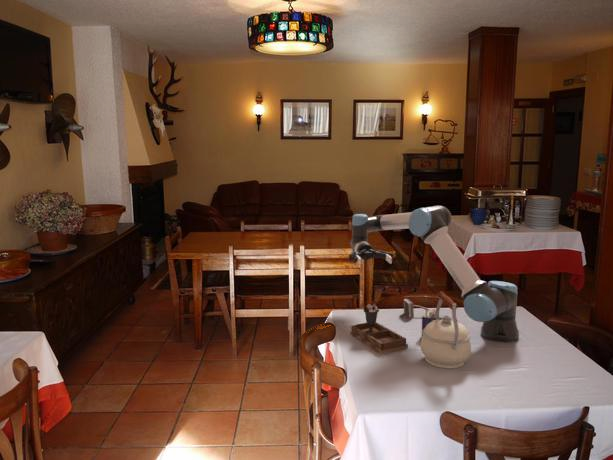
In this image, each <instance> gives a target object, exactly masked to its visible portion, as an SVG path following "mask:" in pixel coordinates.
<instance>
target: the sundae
mask: <svg viewBox="0 0 613 460" xmlns="http://www.w3.org/2000/svg"><path fill="white" fill-rule="evenodd" d="M363 312H364V313H365V321H366V322H365V323H368V324H369V325H370V329H369V330H368V331H365V333H367V334H368V333H373V332H376V331H373V329H372V325H374V324H375V323H376V322H377V318H378V313H379V312H380V309H379V308H378V306H377V303H376V297H374V299H373V300H372V301H370V303H368V304H367V305H365V306H363Z"/></svg>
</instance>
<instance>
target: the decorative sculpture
mask: <svg viewBox="0 0 613 460" xmlns="http://www.w3.org/2000/svg"><path fill="white" fill-rule="evenodd" d="M415 308H421V309H422V310H425V315H424V316H426V315H427V316H429V315H430V316H431V315H432V314H433V312H434V313H435V314H436V309H432V310H431V309H428V308H427V307H426V306H425V307H424V306H421V305H417V304H414V303H413V302H412V301H411V300H410V299H408V298H404V299H403V313H404V314H407V315H408V316H409V315H410V316H409V317H408V318H412V319H413V318H414V315H415V313H414V311H415V310H414V309H415ZM428 311H429V313H428Z"/></svg>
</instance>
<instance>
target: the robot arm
mask: <svg viewBox="0 0 613 460" xmlns="http://www.w3.org/2000/svg"><path fill="white" fill-rule="evenodd" d="M452 219H453V217H452V213H451V211H450V210H449V209H448V208H447V207H445V206H443V205H433V206H427V207H425V206H424V207H420V208H417V209H414V210H413V211H411V212H410V211H409V212H401V213H392V214H377V215H374V216H368V215H367V214H365V213H355V214H354V215H352V220H351V221H352V222H351V225H352V226H351V227H352V228H351V230H352V231H351V232H352V233H351V240H350V248H351V251H352V252H350V253H349V255H348V261H349V262H350V261H351V262H353V263H357V264H358V265H359V266H361V265H362V260H363V261H368V260H371V259H382V260H385V261H386V262H387V263H389V264H390V265H392V262H393V260H394V253H393V252H388V251H385V250H382V249H378V250H375V249H374V247H373V246H372V245H371V244H370V243H369V242H368V236H369V235H368V234H369V233H372V232H373V233H374V232H378V231H388V230H389V231H390V230H391V231H393V230H405V229H408V230H409V231H410V233H411V234H412V235H414V236H416V237H420V238H421V240H422V241H423V242H424V244H426V245H427V244H429V245H430V246H431V248H432V250H433V251H434V253H435V254H436V256H438V258H439V259H440V261H441V263H442V264H443V265H444V267H445V268H446V269H447V271H448V273H449V274H450V275H451V277H452V278H453V280H454V282H455V283H456V284H457V286H458V287H459V289H460V291H461V299H462V300H463V310H464V312H465V315H467V317H469V319H471V320H472V321H474V322H477V323H482V326H481V327H480V328H481V329H480V335H481V336H482V337H483V338H485V339H488V340H490V341H495V342H503V343H508V342H509V343H511V342H515V341H517V340H519V338H520V337H519V336H520V332H519V331H520V330H519V329H518V325H517V320H516V319H517V318H516V317H517V303H518V286H517V285H516V284H514V283H511V282H506V281H500V280H490V281H488V282H487V281H485V280H481V278H480V277H479V276H478V274H477V273H476V271H475V270H474V268H473V267H472V266H471V264H470V263H469V261H468V260H467V259H466V257H465V256H464V255H463V253H462V252H461V250H460V249H459V247H458V246H457V244H456V243H455V242H454V241H453V238H451V236H450V235H449V233H448V230H449V227H450V225H451V223H452Z"/></svg>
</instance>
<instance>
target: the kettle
mask: <svg viewBox="0 0 613 460" xmlns="http://www.w3.org/2000/svg"><path fill="white" fill-rule="evenodd" d="M437 297H438V303H437V306H436V308H435V310H436V320H433V321H432V322H430V323H429V324H427V325H426V327H425V328H424V329H423V330H422V329H421V340H420V344H419V345H420V350H421V353H422V354H423V355H424V357H425V360H426V362H427V363H428V364H429V365H432V366H434V367H436V368H440V369H457V368H460V367H463V366H464V364H465V361H466V360H467V359H468V358H469V357H470V355H471V353H472V345H471V341H470V339H471V333H470V332H469V331H468V330H467V328H466V327H465V325H463V324H461V323H460V322H458V318H457V308H458V304H457V303H456V302H454V301H453V299H451V298H450V296H448V295H447V294H446V292H443V291H439V293H438V295H437ZM443 303H444V304H445V305H446V306H448V307H449V309H450V310H451V317H450V315H448V314H447V315H446V314H445V315H444V316H443V315H442V316H443V317H442V318H441V320H439V316H440V311H441V310H440V309H441V307H442V304H443ZM422 334H423V336H422Z"/></svg>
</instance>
